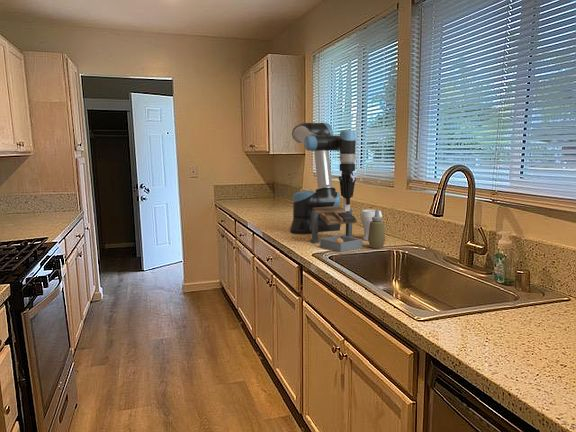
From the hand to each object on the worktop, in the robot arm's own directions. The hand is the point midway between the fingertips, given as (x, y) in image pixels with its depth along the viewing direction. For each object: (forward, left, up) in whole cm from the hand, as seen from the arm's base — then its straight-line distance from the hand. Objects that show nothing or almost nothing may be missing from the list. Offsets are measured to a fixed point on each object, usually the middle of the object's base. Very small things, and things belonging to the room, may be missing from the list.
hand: (346, 210), depth 207 cm
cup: (+3, +15, -16) cm, 22 cm away
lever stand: (-8, -2, -16) cm, 18 cm away
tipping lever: (-10, -2, -14) cm, 17 cm away
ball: (+8, -13, -13) cm, 20 cm away
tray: (+6, -10, -16) cm, 20 cm away
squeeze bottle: (+17, +3, -16) cm, 24 cm away
